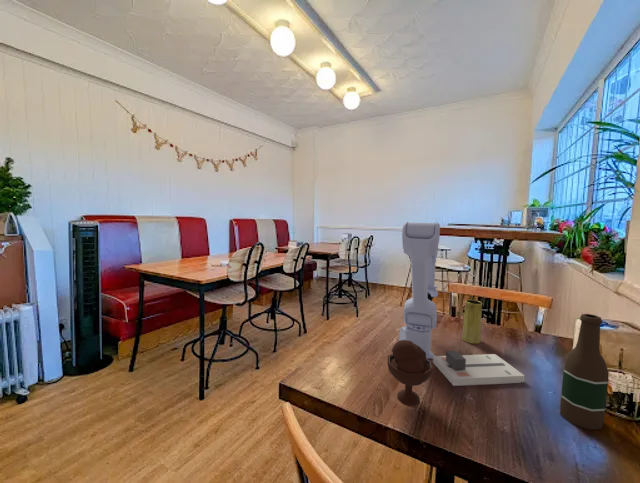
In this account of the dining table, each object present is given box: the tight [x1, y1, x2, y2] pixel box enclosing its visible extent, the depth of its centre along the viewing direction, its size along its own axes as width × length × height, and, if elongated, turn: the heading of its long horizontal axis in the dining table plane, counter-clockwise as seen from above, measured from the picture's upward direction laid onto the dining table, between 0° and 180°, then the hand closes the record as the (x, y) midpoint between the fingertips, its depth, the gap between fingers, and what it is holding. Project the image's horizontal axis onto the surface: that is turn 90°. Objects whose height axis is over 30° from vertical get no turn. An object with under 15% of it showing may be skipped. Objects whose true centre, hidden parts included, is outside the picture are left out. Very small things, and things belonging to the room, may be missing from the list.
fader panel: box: [432, 353, 526, 387], centre depth 85 cm, size 20×12×2 cm, turn 95°
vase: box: [461, 299, 483, 345], centre depth 105 cm, size 6×6×14 cm
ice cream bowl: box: [387, 340, 434, 406], centre depth 73 cm, size 11×11×15 cm
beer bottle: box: [559, 313, 609, 431], centre depth 65 cm, size 8×8×24 cm
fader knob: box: [445, 350, 466, 370], centre depth 84 cm, size 3×5×3 cm, turn 5°
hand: (424, 310), depth 110 cm, fingers closed
